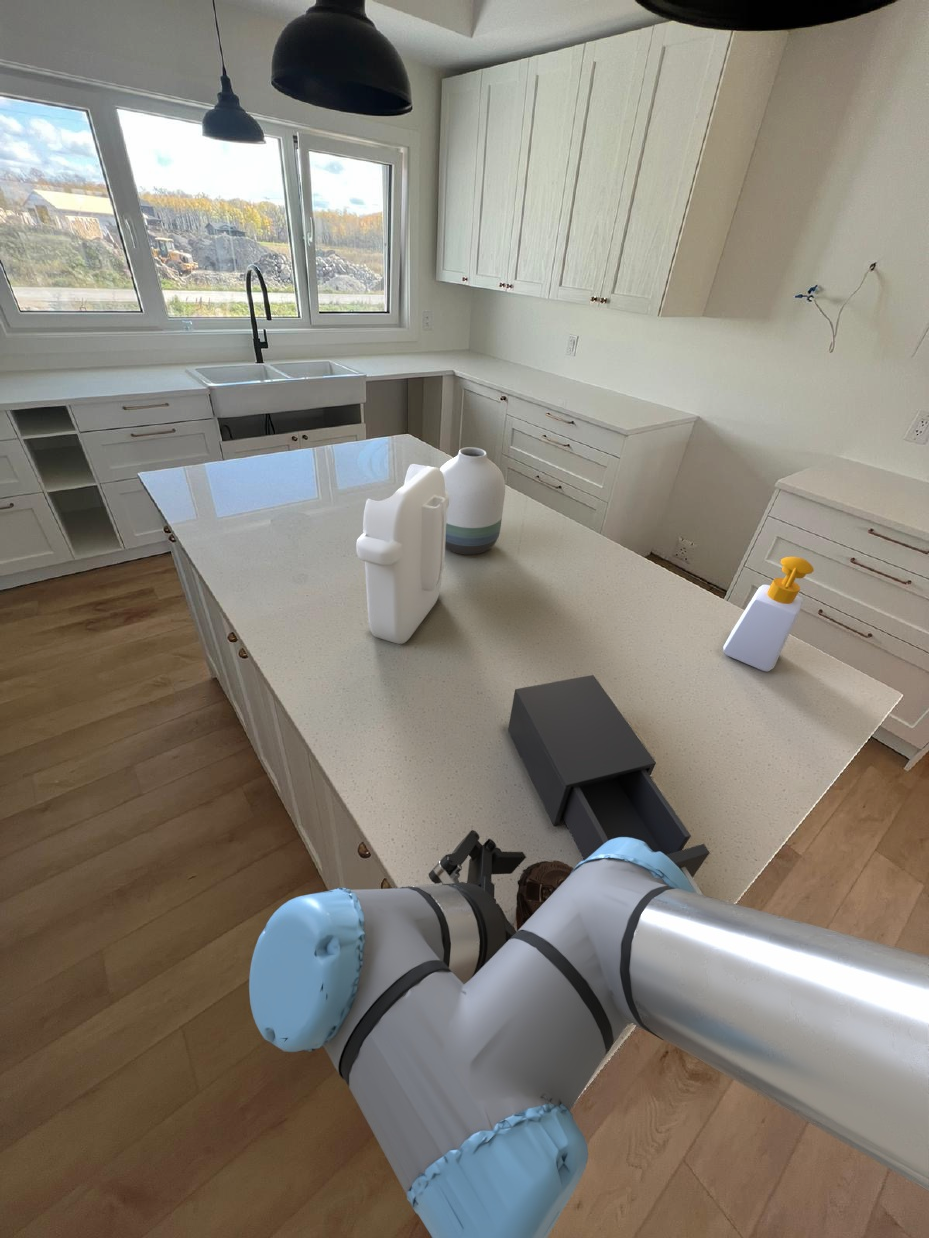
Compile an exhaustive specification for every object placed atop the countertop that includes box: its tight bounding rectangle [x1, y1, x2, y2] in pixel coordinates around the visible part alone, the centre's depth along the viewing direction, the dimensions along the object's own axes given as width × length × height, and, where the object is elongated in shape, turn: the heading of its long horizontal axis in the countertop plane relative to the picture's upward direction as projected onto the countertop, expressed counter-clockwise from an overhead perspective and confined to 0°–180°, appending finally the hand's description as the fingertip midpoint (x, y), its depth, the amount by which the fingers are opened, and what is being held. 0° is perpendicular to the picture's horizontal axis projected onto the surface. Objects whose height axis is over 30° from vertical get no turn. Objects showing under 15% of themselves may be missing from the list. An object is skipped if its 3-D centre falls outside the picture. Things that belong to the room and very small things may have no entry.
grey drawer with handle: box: [562, 769, 711, 895], centre depth 65 cm, size 22×12×8 cm, turn 18°
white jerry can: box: [355, 463, 449, 645], centre depth 98 cm, size 27×11×30 cm, turn 160°
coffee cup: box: [513, 860, 575, 932], centre depth 56 cm, size 9×8×13 cm
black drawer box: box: [507, 674, 657, 827], centre depth 77 cm, size 18×14×10 cm
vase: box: [439, 446, 506, 555], centre depth 125 cm, size 17×17×24 cm
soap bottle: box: [722, 556, 815, 672], centre depth 97 cm, size 10×14×22 cm
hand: (554, 915), depth 56 cm, fingers open, 13 cm apart
